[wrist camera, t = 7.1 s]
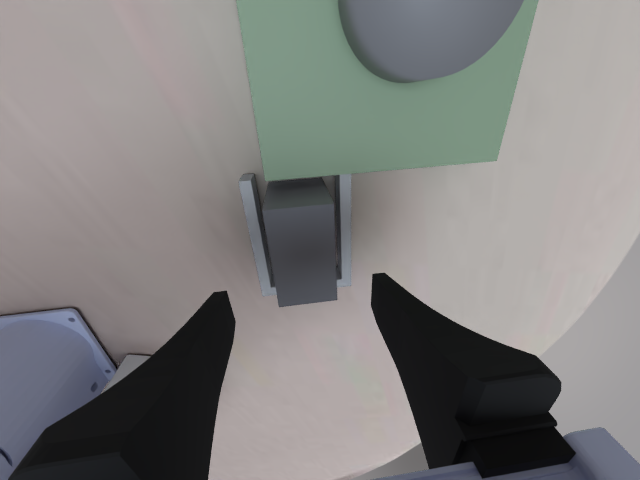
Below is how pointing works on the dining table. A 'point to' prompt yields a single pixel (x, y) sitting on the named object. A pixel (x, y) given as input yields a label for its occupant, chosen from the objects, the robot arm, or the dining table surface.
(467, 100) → the green panel
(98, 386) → the robot arm
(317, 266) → the dark gray block
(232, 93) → the dining table surface
